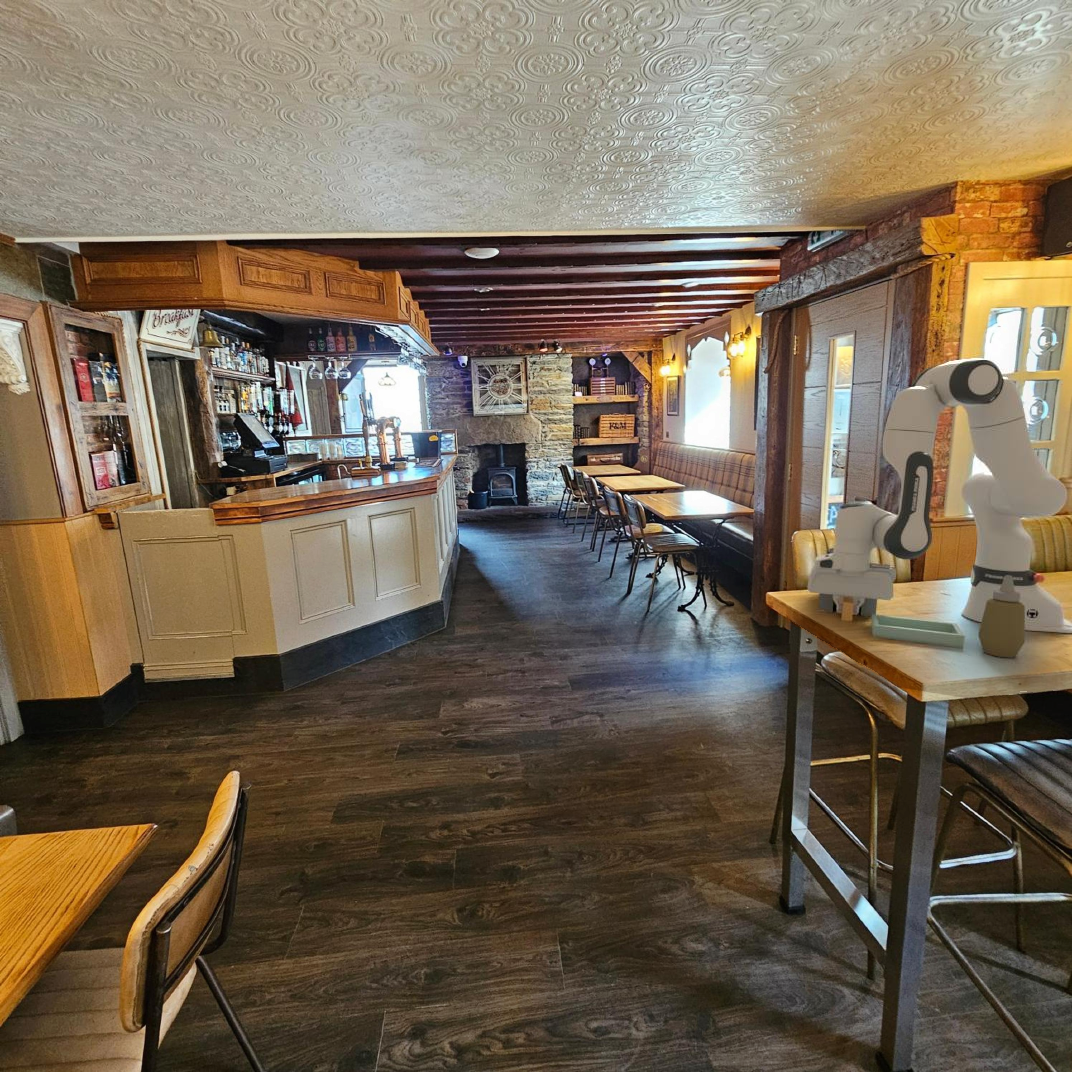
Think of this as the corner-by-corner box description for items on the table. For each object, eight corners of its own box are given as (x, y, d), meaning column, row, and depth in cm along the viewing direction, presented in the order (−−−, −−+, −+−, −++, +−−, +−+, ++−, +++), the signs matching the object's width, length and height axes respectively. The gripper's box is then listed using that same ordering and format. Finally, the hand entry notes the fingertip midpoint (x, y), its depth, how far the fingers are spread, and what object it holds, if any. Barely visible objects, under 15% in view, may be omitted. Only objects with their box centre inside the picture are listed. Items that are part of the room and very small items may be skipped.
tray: (955, 635, 139) (956, 623, 139) (963, 648, 131) (964, 635, 130) (870, 625, 148) (871, 613, 147) (872, 636, 139) (873, 625, 138)
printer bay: (873, 604, 166) (876, 563, 164) (875, 616, 154) (879, 572, 152) (819, 598, 172) (822, 559, 170) (818, 610, 161) (821, 568, 159)
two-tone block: (856, 608, 162) (858, 586, 161) (857, 621, 150) (859, 598, 149) (836, 606, 164) (838, 584, 163) (836, 619, 153) (838, 596, 152)
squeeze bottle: (1022, 663, 122) (1033, 582, 119) (975, 654, 127) (984, 576, 124) (1022, 652, 128) (1033, 575, 125) (977, 644, 133) (986, 570, 130)
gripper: (896, 562, 149) (891, 613, 151) (810, 556, 158) (806, 604, 160) (898, 567, 143) (893, 620, 145) (808, 560, 153) (805, 610, 155)
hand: (847, 611), depth 153 cm, fingers closed on two-tone block, 2 cm apart
